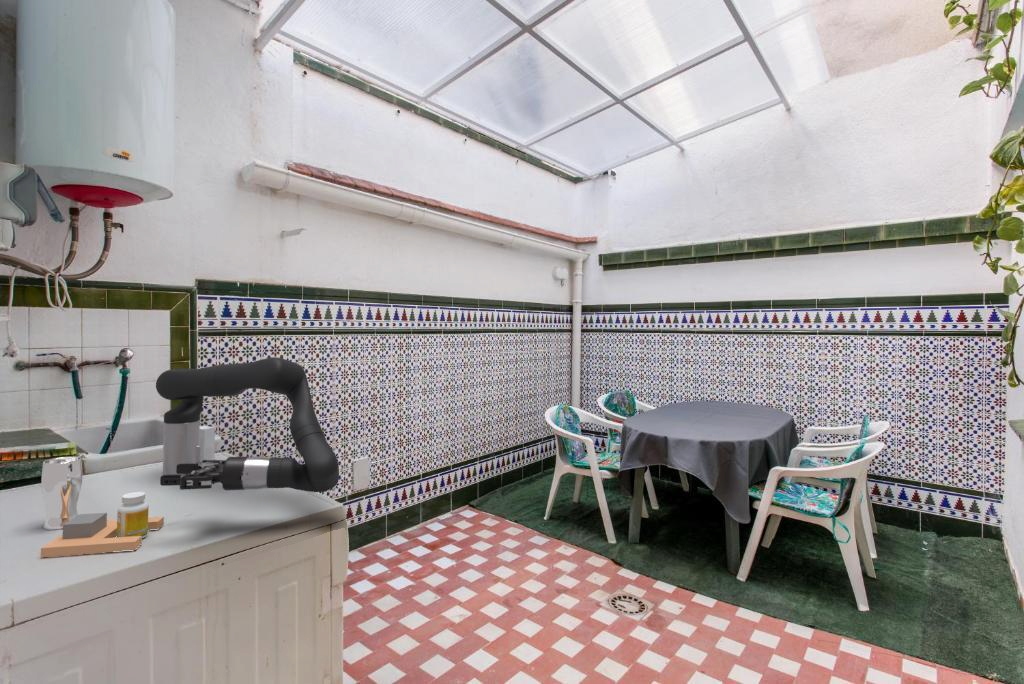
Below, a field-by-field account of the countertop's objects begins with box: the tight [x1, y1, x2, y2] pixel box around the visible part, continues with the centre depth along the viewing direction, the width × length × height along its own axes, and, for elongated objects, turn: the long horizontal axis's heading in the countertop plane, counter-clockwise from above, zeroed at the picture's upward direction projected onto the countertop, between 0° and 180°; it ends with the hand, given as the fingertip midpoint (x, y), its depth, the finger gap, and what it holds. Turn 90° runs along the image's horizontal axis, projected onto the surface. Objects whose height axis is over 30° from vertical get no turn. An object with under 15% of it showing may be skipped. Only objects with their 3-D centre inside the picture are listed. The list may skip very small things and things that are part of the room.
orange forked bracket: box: [40, 512, 165, 559], centre depth 106 cm, size 16×14×5 cm
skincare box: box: [199, 425, 216, 462], centre depth 169 cm, size 6×4×12 cm
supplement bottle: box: [116, 491, 149, 539], centre depth 108 cm, size 5×5×10 cm
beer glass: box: [40, 456, 83, 531], centre depth 114 cm, size 7×7×15 cm
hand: (169, 474), depth 111 cm, fingers open, 8 cm apart
